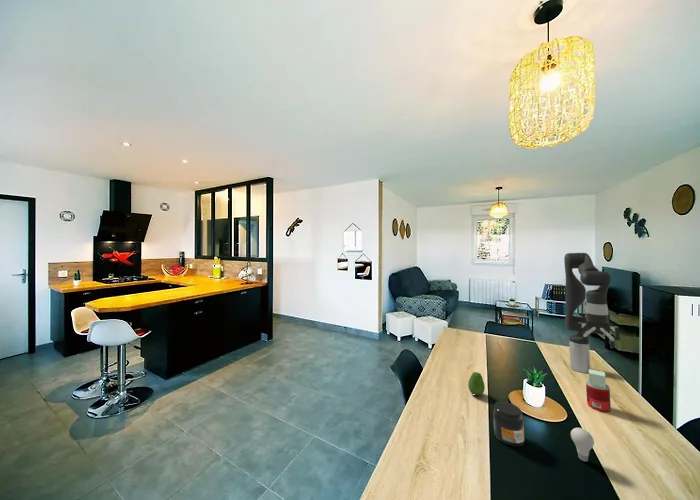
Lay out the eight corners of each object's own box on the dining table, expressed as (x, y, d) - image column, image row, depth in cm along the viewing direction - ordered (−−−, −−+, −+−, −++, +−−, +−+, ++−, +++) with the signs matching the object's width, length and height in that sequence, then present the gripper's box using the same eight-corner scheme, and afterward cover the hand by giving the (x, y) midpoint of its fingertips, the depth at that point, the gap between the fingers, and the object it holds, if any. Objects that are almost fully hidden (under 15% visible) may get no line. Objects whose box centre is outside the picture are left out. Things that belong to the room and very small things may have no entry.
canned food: (615, 413, 113) (614, 389, 113) (595, 411, 115) (593, 387, 115) (602, 403, 121) (600, 380, 121) (583, 402, 122) (581, 379, 123)
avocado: (487, 399, 127) (486, 376, 127) (470, 398, 129) (469, 375, 129) (482, 391, 135) (481, 368, 135) (466, 390, 136) (465, 368, 137)
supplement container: (525, 452, 93) (524, 419, 94) (493, 441, 99) (492, 411, 99) (524, 434, 102) (522, 405, 102) (494, 426, 108) (493, 398, 108)
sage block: (589, 380, 122) (588, 368, 122) (605, 383, 118) (604, 372, 118) (589, 384, 118) (588, 372, 118) (606, 388, 114) (605, 376, 114)
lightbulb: (567, 454, 91) (565, 424, 92) (582, 453, 92) (580, 422, 92) (584, 468, 85) (582, 436, 86) (600, 467, 86) (598, 434, 86)
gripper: (617, 312, 118) (619, 347, 117) (577, 309, 127) (578, 340, 127) (619, 316, 112) (621, 352, 112) (576, 312, 122) (578, 345, 122)
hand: (598, 346), depth 119 cm, fingers open, 8 cm apart
